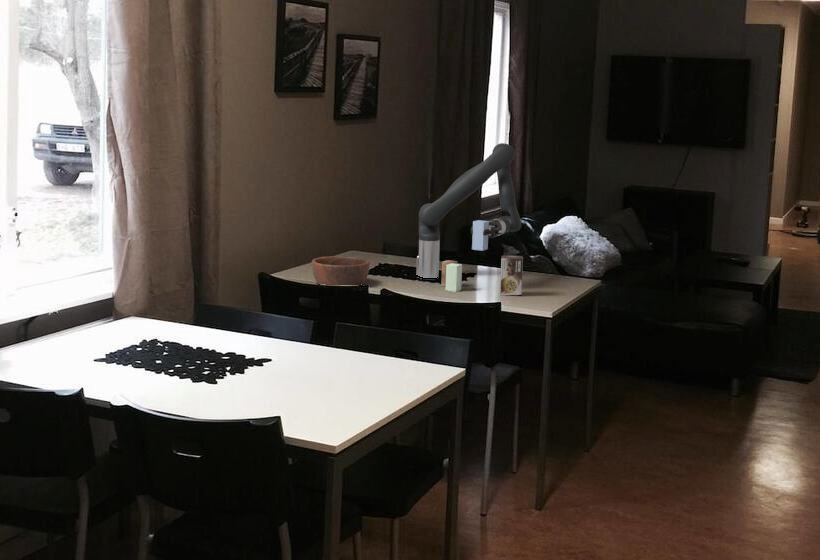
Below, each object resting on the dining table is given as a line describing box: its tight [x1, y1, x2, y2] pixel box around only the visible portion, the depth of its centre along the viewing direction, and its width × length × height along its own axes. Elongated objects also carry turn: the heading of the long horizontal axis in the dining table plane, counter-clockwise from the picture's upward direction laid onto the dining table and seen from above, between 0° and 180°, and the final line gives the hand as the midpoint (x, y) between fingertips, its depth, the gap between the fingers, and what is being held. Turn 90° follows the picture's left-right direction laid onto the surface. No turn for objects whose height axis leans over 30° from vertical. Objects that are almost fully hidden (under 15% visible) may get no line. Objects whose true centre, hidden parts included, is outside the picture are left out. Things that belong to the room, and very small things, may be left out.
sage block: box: [444, 263, 463, 293], centre depth 466 cm, size 5×5×11 cm
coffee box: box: [499, 255, 524, 295], centre depth 459 cm, size 9×6×16 cm
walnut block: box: [440, 259, 459, 288], centre depth 473 cm, size 5×5×11 cm
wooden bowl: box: [311, 255, 371, 286], centre depth 473 cm, size 25×25×10 cm
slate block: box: [471, 219, 489, 252], centre depth 466 cm, size 5×5×12 cm
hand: (478, 232), depth 463 cm, fingers closed on slate block, 5 cm apart
